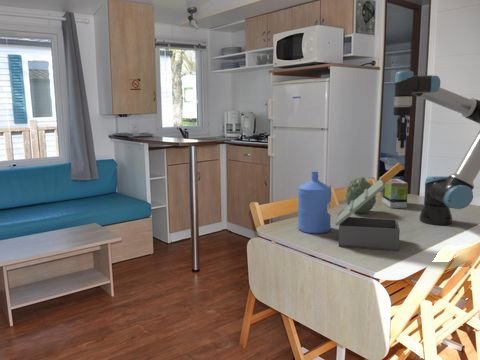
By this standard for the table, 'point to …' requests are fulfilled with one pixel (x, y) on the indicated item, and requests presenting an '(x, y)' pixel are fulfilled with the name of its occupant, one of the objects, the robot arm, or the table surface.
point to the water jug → (314, 206)
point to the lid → (368, 194)
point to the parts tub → (369, 233)
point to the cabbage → (359, 193)
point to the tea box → (395, 193)
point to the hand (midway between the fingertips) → (400, 153)
